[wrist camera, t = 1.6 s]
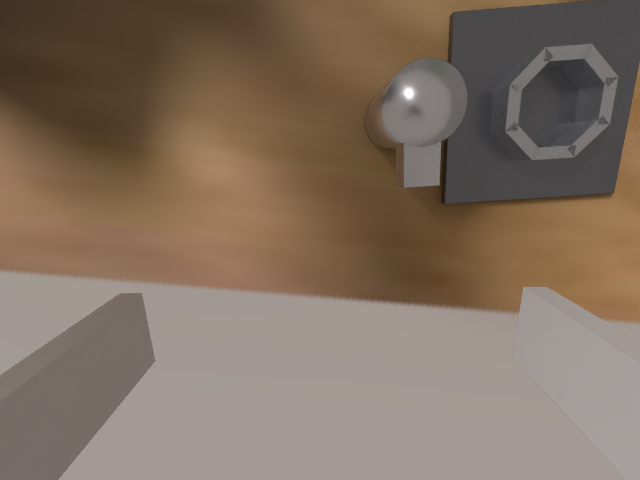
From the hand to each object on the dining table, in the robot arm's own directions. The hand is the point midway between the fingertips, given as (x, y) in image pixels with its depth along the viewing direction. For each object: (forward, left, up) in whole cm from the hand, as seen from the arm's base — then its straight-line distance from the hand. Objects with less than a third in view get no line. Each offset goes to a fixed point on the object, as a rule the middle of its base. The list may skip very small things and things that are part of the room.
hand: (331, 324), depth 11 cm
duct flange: (-8, +20, -21) cm, 30 cm away
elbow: (-7, +7, -21) cm, 23 cm away
